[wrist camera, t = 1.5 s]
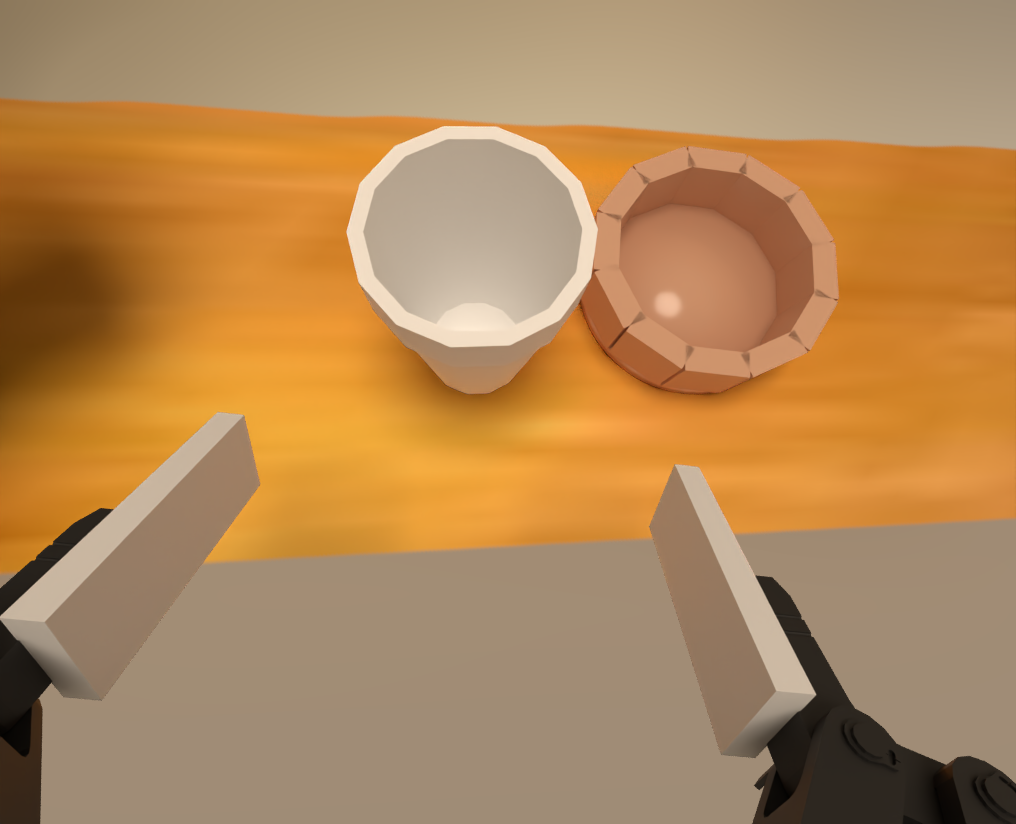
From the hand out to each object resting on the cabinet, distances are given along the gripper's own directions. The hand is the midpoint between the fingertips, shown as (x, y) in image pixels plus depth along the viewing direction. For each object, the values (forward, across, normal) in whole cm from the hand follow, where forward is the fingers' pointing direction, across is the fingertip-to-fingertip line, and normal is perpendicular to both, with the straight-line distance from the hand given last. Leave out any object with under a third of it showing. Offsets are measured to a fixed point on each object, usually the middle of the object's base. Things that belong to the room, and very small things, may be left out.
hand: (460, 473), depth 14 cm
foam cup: (+17, -1, -3) cm, 17 cm away
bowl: (+21, +13, +1) cm, 25 cm away
